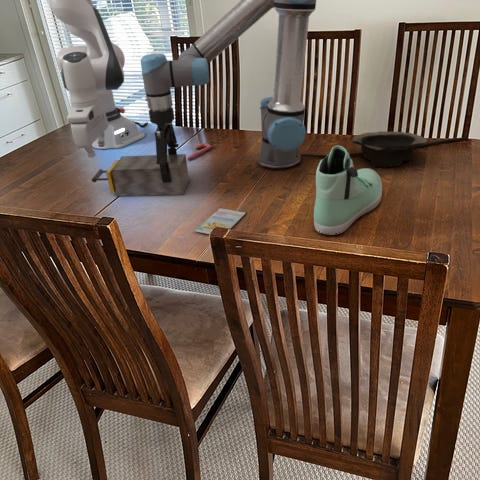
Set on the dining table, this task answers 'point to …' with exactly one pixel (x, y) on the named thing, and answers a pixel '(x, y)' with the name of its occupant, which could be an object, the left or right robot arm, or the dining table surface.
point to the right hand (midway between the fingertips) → (170, 174)
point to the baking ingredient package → (220, 220)
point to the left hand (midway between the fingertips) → (97, 151)
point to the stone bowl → (388, 147)
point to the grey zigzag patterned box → (149, 176)
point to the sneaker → (343, 192)
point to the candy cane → (200, 150)
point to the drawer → (109, 177)
